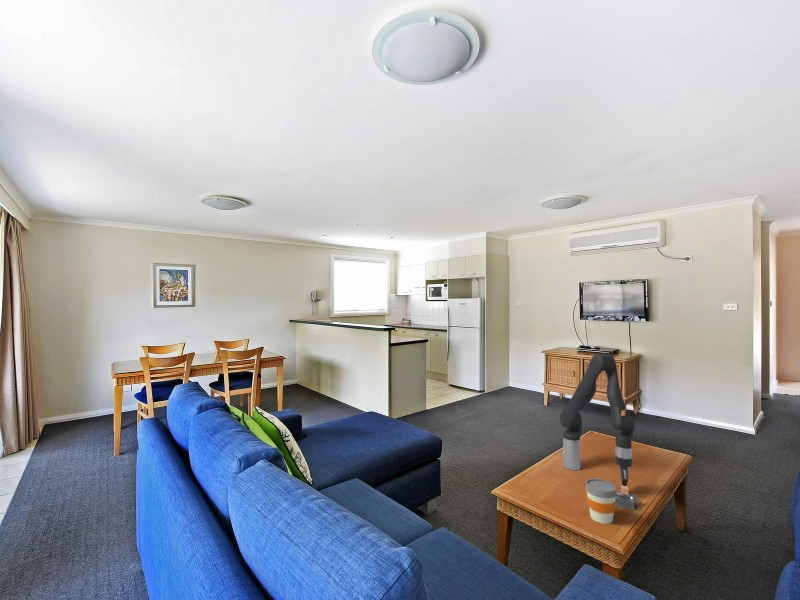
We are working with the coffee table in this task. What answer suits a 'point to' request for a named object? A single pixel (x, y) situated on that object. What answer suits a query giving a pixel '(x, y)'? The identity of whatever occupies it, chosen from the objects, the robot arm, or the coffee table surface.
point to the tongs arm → (629, 497)
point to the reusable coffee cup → (601, 500)
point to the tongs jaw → (625, 503)
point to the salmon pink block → (624, 490)
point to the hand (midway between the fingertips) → (624, 489)
